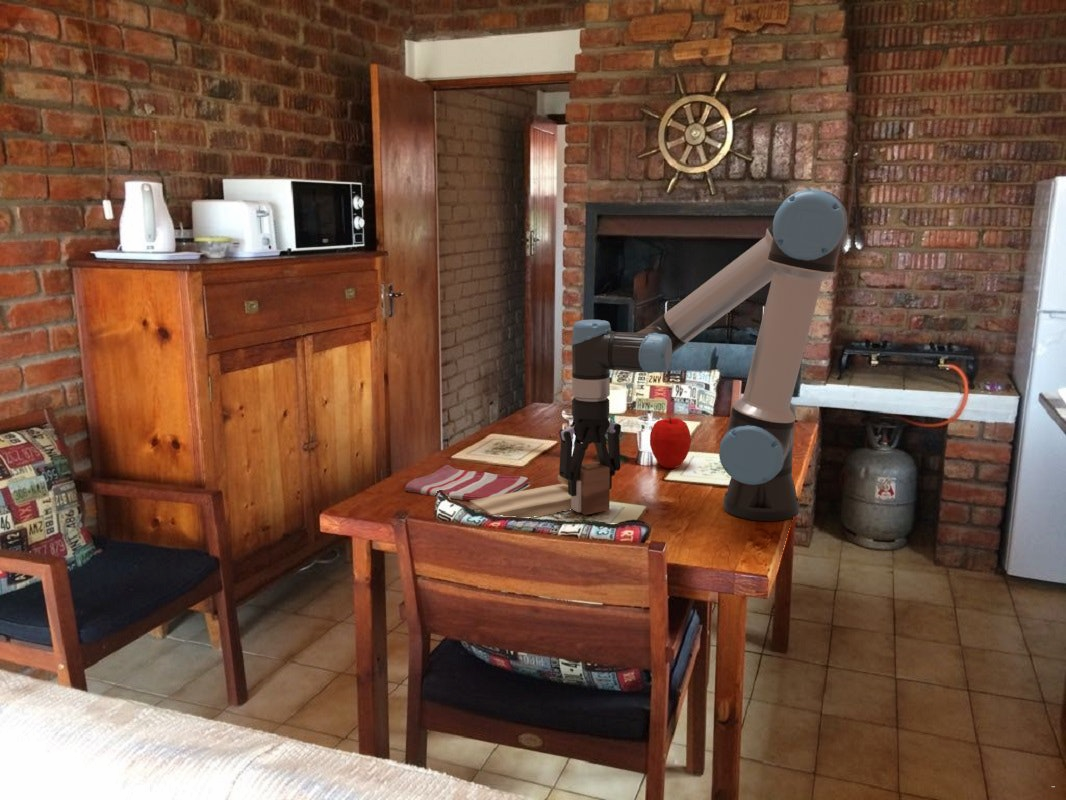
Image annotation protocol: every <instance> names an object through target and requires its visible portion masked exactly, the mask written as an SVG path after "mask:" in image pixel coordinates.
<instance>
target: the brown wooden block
mask: <svg viewBox="0 0 1066 800" xmlns="http://www.w3.org/2000/svg"><path fill="white" fill-rule="evenodd" d="M578 480H580V481H581V512H579V513H580V514H583V515H584V516H586V515H590V514H596V513H601V512H605V511H610V503H609V500H610V501H611V497H610V493H611V492H610V490H611V489H610V468H609V467H607V466H605V465H602V464H600V462H597V461H594V462H588V463H587V462H586V463H582V466H581V469H580V473H579V477H578ZM557 481H558V482H559V483H560V484H562V483H563V484H565V485H567V486H568V480H567V479H564V478H562V477H560V476H559V474H558V475H557Z"/></svg>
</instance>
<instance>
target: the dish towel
mask: <svg viewBox="0 0 1066 800" xmlns="http://www.w3.org/2000/svg"><path fill="white" fill-rule="evenodd" d="M530 483H531V481H530V479H529V477H526V476H521V475H516V474H515V475H514V474H507V473H505V474H503V473H498V474H497V473H495V474H494V473H491V472H486V471H478V470H474V471H473V470H471V471H468V470H461V469H458V468H454V467H453V466H451V465H449V464H445V465H443V466H442V467H441V468H439V469H438V470H436V471H435V472H433V473H430V474H427V475H425V476H420V477H415V478H413V479H411V480H410V481H408V482H407V483H406V485H405V488H404V490H405V491H406V492H407V491H408V493H414V494H420V495H427V496H431V497H436V496H435V495H436V493H437V491H439V490H443V491H445V492H446V493H447V494H448V496H449V497H450V498H449V499H451V498H452V499H453V500H461V501H465V502H469V503H470V500H475V499H480V498H486V497H491V496H497V495H502V494H508V493H513V492H518V491H524V490H526V489H528V487H531V484H530ZM452 499H451V500H452Z"/></svg>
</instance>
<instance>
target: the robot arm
mask: <svg viewBox="0 0 1066 800" xmlns="http://www.w3.org/2000/svg"><path fill="white" fill-rule="evenodd" d="M848 226H849V214H848V210H847V208H846V206H845V204H844V202H843V201H842V200H841V199H840V198H839V197H837V196H836V195H835V194H834V193H831V192H829V191H826V190H821V189H819V188H818V189H817V188H816V189H815V188H812V189H811V188H807V189H802V190H799V191H796V192H794V193H793V194H791V195H789V196H788V197H787V198H786V199H784V200H783V202H782V203H781V204H780V205H779V207H778V209H777V211H776V212H775V214H774V217H773V221H772V224H771V225H770V226H769V227H767V228H766V231H765V236H764V237H763V238H761V239H760V240H759V241H758V242H756V243H755V244H754V245H752V246H751V247H750V248H749V249H747V250H746V251H745V252H743V253H742V254H740V255H739V256H738V257H737V258H735V259H734V260H732V262H730V263H729V264H728V265H726V266H725V267H723V269H721V270H720V271H718V272H717V273H716V274H714V275H713V276H712V277H710V279H708V280H707V281H705V282H704V283H703V284H701V285H700V286H699V287H698V288H696V289H695V290H694V291H692V292H691V293H690V294H688V295H687V296H686V297H685V298H683V299H682V300H681V301H679V302H678V303H677V304H676V305H674V306H673V307H672V308H670V309H668V311H666V312H665V313H664V314H662V315H661V316H660V317H658V318H656V320H654V321H653V322H651V324H649V325H648V326H646V327H645V328H643V329H641V330H639V331H636V332H630V331H629V332H627V331H626V332H621V331H620V332H619V331H613V330H612V328H611V324H610V322H609V321H607V320H604V319H603V320H601V319H582V320H581V319H580V320H578V321H576V322H574V324H573V325H572V338H571V343H570V344H571V365H572V366H571V368H572V370H571V372H572V373H571V376H572V377H571V386H572V387H571V394H572V396H573V398H572V399H571V416H572V422H571V425H570V427H568V428H567V429H565V430H564V429H563V428H562V429H560V430H559V431H558V435H559V440H560V453H559V468H558V469H559V472H558V475H559V476H560V477H562V478H564V479H567V480H568V494H569V495H571V509H573V510H572V511H575V512H577V513H580V512H581V481H580V480H578V477H579V473H580V469H581V466H582V464H583V460H584V458H585V454H586V451H587V449H589V445H591V444H592V443H593V445H594V447H595V450H596V453H597V457H598V460H599V463H600V464H602V465H605V466H607V467H609V468H610V490H611V489H612V487H613V485H612V482H613V477H614V476H615V475H616V472H617V471H618V472H619V471H620V470H621V450H620V449H621V447H620V433H621V430H622V425H621V424H619V423H616V422H614V421H612V422H611V421H610V419H609V418H608V417H609V416H610V399H609V398H608V397H610V395H611V392H610V388H611V386H610V385H611V384H610V383H611V382H610V379H611V378H610V375H611V374H610V373H611V370H612V371H627V372H641V373H647V374H653V373H666V372H667V371H668V370H669V368H670V365H671V363H672V358H673V357H672V356H673V354H674V353H675V352H676V351H678V350H680V348H682V347H684V345H685V344H687V343H688V342H690V341H691V340H692V339H694V338H695V337H696V336H698V335H699V334H700V333H702V332H703V331H705V330H706V329H707V328H708V327H710V326H712V325H713V324H714V323H715V322H717V321H718V320H720V319H722V317H723V316H725V315H726V314H728V313H730V311H732V310H733V309H735V308H736V307H737V306H739V305H740V304H741V303H743V302H744V301H746V300H747V299H748V298H750V297H751V296H752V295H754V294H755V293H757V292H758V291H759V290H761V289H762V288H764V287H765V286H766V285H767V284H769V283H770V286H769V289H768V293H767V298H766V302H765V306H764V310H763V314H762V318H761V323H760V326H759V331H758V334H757V339H756V343H755V347H754V352H753V354H752V355H753V356H752V359H751V363H750V368H749V372H748V375H747V380H746V384H745V389H744V393H743V396H742V397H741V398H739V399H738V400H736V401H734V402H733V404H732V406H731V407H732V408H731V412H730V416H729V418H728V423H727V428H726V431H725V434H724V435H723V437H722V439H721V440H720V443H719V448H718V449H719V450H718V456H719V462H720V464H721V466H722V468H723V470H724V471H725V472H726V474H728V476H729V477H730V480H729V483H728V486H727V490H726V492H725V493H724V496H723V509H724V510H725V511H726V512H727V513H728V514H730V515H732V516H734V517H735V516H736V517H737V518H741V519H744V520H752V521H760V522H777V521H785V520H790V519H792V518H795V517H796V516H798V514H799V513H800V499H799V497H798V496H797V490H796V486H795V482H794V479H793V462H794V461H793V458H794V442H795V441H794V440H795V439H794V438H795V437H794V435H795V421H796V418H797V416H796V408H795V405H794V404H793V403H792V400H793V395H794V391H795V388H796V384H797V380H798V376H799V372H800V368H801V365H802V361H803V356H804V352H805V349H806V346H807V341H808V339H809V334H810V329H811V325H812V322H813V318H814V314H815V310H816V306H817V303H818V298H819V295H820V292H821V291H820V290H821V287H822V283H823V281H824V280H825V279H827V278H828V277H830V276H832V275H834V273H835V269H836V265H837V262H838V258H839V253H840V250H841V246H842V242H843V239H844V237H845V236H846V233H847V230H848ZM606 433H607V439H606V435H605V434H606ZM574 436H575V437H574ZM573 439H574V440H573ZM573 441H574V442H573ZM573 446H574V447H573Z"/></svg>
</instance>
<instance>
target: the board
mask: <svg viewBox="0 0 1066 800" xmlns="http://www.w3.org/2000/svg"><path fill="white" fill-rule="evenodd" d="M610 502H611V499H610V500H609V504H610ZM470 506H471V507H473V508H476V509H478V510H481V511H484V512H487V513H490V514H495V515H503V516H516V517H531V519H533V518H532V517H534V516H541V517H544V516H543V515H545V516H549V515H548V514H550V515H554V514H553V513H555V514H558V513H557V512H560V513H562V512H561V511H564V510H570V509H571V495H569V494H568V486H567V485H565V484H563V483H557V484H552V485H546V486H541V487H535V488H530V489H524V490H522V491H518V492H513V493H508V494H502V495H497V496H491V497H486V498H480V499H475V500H470V502H469V507H470ZM570 511H571V510H570Z"/></svg>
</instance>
